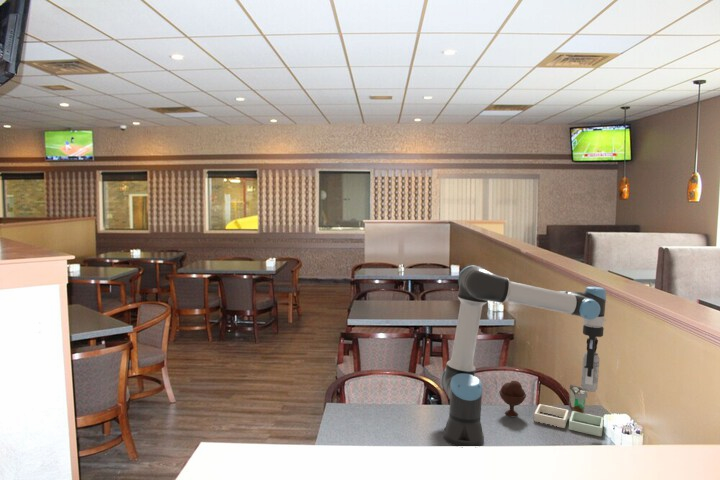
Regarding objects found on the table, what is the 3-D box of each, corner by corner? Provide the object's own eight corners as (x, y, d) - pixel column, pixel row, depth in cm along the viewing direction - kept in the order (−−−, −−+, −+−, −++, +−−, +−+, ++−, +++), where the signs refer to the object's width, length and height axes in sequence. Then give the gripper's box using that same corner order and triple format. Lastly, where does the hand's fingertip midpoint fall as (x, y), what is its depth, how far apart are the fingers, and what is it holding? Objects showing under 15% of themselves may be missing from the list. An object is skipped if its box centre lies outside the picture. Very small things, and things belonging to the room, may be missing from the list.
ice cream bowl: (527, 413, 221) (529, 379, 220) (520, 421, 212) (522, 386, 211) (503, 407, 227) (504, 374, 226) (495, 415, 217) (497, 380, 216)
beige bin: (533, 421, 213) (534, 413, 212) (538, 411, 223) (539, 403, 223) (564, 428, 207) (565, 420, 207) (568, 418, 218) (568, 410, 217)
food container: (589, 418, 218) (591, 395, 217) (574, 416, 219) (575, 394, 218) (582, 407, 230) (584, 385, 229) (568, 405, 231) (569, 384, 230)
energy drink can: (585, 386, 212) (588, 350, 211) (600, 390, 207) (602, 354, 206) (578, 388, 208) (580, 352, 207) (592, 393, 203) (594, 356, 202)
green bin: (568, 429, 206) (569, 420, 206) (571, 418, 217) (572, 410, 217) (601, 436, 201) (602, 428, 200) (603, 425, 211) (603, 417, 211)
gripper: (602, 331, 196) (597, 390, 197) (605, 322, 212) (601, 376, 214) (580, 328, 199) (577, 386, 201) (585, 319, 216) (581, 373, 217)
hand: (589, 381), depth 207 cm, fingers closed on energy drink can, 6 cm apart
